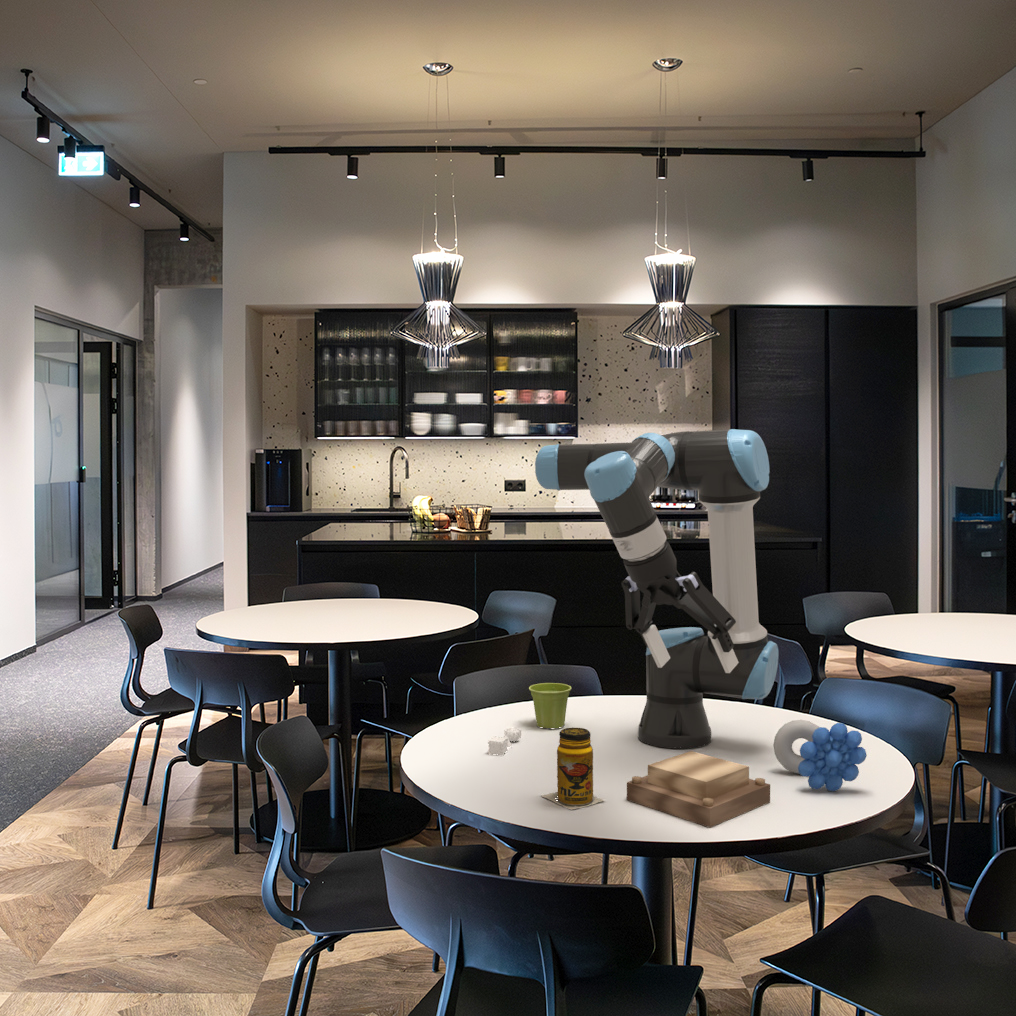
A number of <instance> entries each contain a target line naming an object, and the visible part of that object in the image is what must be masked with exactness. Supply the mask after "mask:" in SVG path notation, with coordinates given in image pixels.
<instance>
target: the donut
mask: <svg viewBox="0 0 1016 1016" xmlns="http://www.w3.org/2000/svg"><path fill="white" fill-rule="evenodd" d="M819 727H820V726H819V725H817V724H815V723H814V722H812V721H810V720H803V719H795V720H790V721H789V722H787V723H784V724H783V725H782V726H781V727H780V728H779V729H778V730H777V732H776V734H775V736H774V740H773V745H772V746H773V751H774V755H775V758H776V759H777V762H778V763H779V764H780V765H781V766H782V767H783V768H785V769H786V770H788V771H790V772H791V773H794V774H799V771H798V766H799V764H800V762H801V761H803V760H805V759H804V758H803V757H801V755H800V754H797V753H796V752H795V751H794V750H793V744H794V742H795V741H796V740H799V739H805V740H806V742H807V741H809V742H813V739H812V735H813V732H814V731H815V730H816V729H817V728H819ZM799 775H800V774H799Z"/></svg>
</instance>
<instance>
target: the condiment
mask: <svg viewBox="0 0 1016 1016" xmlns="http://www.w3.org/2000/svg"><path fill="white" fill-rule="evenodd" d="M558 734H559V741H558V743H559V744H558V746H557V750H556V757H557V759H556V760H557V761H556V765H557V766H556V773H557V775H556V778H557V779H556V780H557V782H556V783H557V784H556V785H557V791H555V792H551V793H550V792H549V793H548V794H542V795H541V797H542V798H544V799H548V800H549V801H552V802H554V803H555V804H557V805H558V806H561V807H564V808H566V809H567V810H570V811H571V810H576V809H581V808H585V807H589V806H592V805H595V804H598V803H602V802H605V801H606V800H605V799H602V798H600V797H597V796H594V752H593V751H594V749H593V747H592V745H591V742H592V740H591V734H592V733H591V731H590V730H588V729H586V728H583V727H575V726H574V727H566V728H563V729H561V730H560V731H559V733H558ZM557 796H558V797H557ZM555 798H558V799H555ZM556 800H558V801H556Z"/></svg>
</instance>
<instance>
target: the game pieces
mask: <svg viewBox="0 0 1016 1016" xmlns="http://www.w3.org/2000/svg"><path fill="white" fill-rule="evenodd" d="M503 732H504V735H503V737H499V736H498V737H497V736H492V737H491V738H490V739H488V742H487V744H488V753H487V754H488V755H489V754H498V755H503V754H504V753H505V752H506V751H509V749H507V747H510V746H512V747H513V745H512V742H510V741H516V740H518V741H519V739H521V737H522V729H520V728H516V727H515V726H510V727H508V728H506V730H504V731H503ZM516 742H517V741H516ZM504 755H505V754H504ZM504 755H503V756H504Z"/></svg>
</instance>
